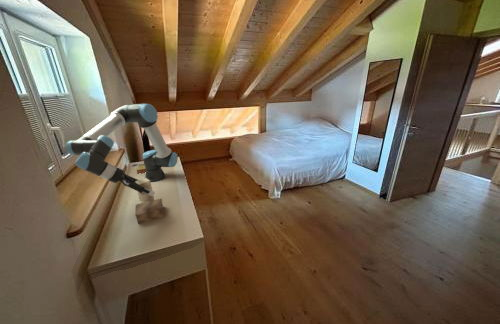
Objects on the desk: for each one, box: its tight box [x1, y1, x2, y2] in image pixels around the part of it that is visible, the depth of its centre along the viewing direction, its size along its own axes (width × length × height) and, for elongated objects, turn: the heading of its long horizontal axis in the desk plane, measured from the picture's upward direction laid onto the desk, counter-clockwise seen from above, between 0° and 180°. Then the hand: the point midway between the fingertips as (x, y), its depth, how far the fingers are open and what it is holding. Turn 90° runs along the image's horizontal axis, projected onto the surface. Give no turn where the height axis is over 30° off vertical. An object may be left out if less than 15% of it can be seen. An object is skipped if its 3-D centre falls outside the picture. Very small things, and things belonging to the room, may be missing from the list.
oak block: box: [135, 177, 155, 204], centre depth 119 cm, size 6×6×12 cm
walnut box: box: [134, 198, 165, 224], centre depth 124 cm, size 14×12×6 cm
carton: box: [136, 163, 146, 175], centre depth 192 cm, size 8×16×4 cm, turn 20°
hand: (152, 191), depth 121 cm, fingers closed on oak block, 7 cm apart
